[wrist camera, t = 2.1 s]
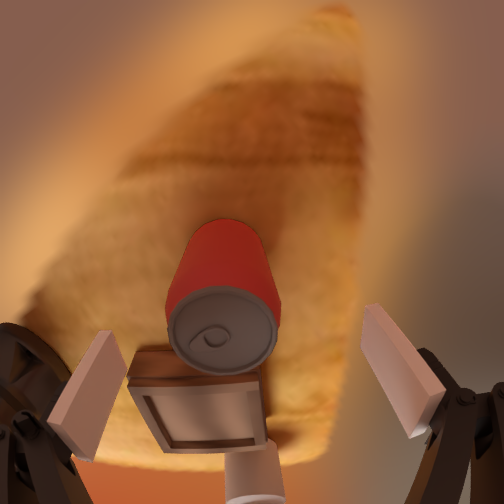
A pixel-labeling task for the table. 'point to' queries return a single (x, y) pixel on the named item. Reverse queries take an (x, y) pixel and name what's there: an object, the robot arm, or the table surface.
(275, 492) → the can
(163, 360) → the walnut tray
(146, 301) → the table surface
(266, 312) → the beer can
